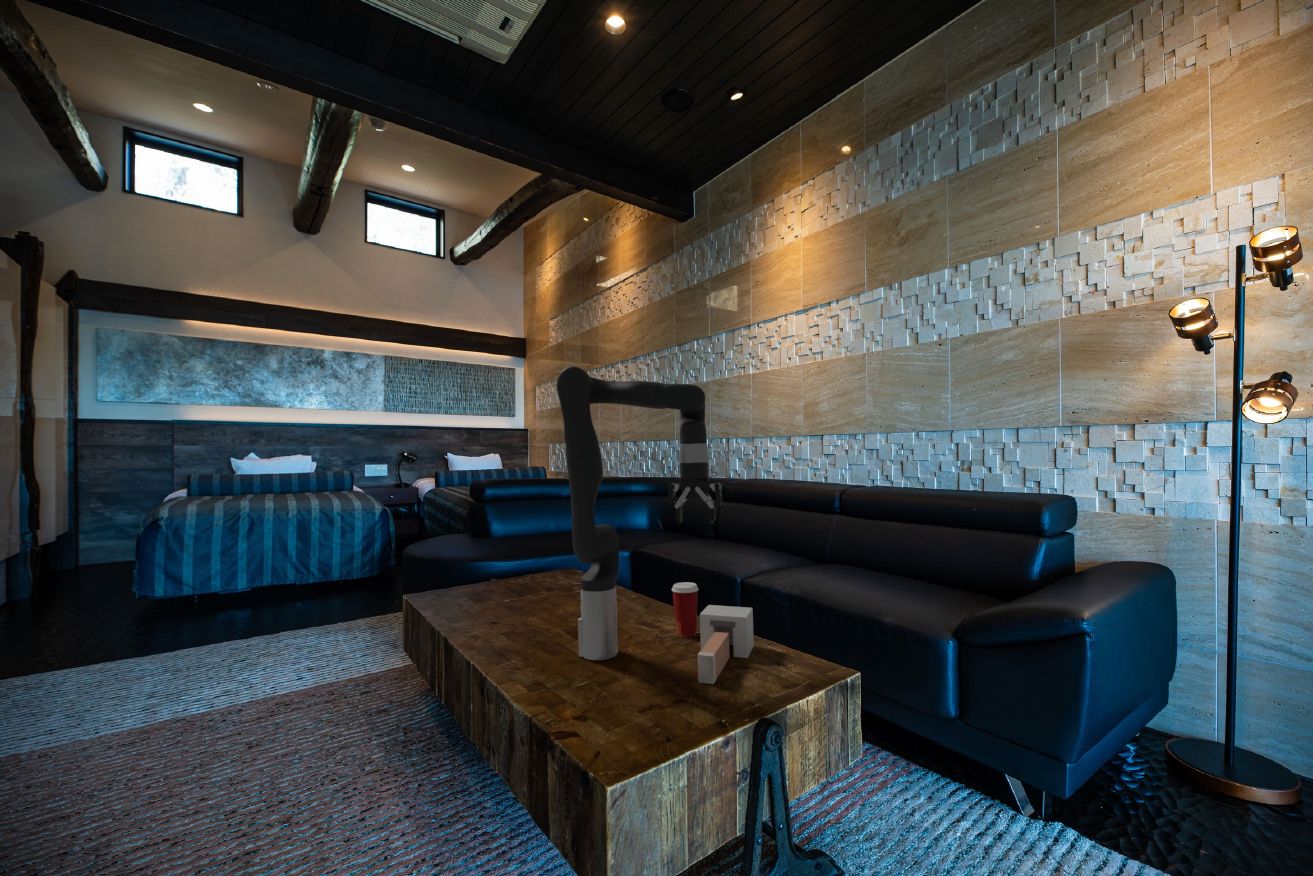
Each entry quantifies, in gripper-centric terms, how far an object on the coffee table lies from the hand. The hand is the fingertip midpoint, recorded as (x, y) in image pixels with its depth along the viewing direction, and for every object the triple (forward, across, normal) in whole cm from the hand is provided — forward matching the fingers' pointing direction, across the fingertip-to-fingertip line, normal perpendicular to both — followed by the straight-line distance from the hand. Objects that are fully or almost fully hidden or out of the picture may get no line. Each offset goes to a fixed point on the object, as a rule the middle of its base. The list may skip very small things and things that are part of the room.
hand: (695, 522), depth 143 cm
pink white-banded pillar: (+33, +7, -12) cm, 36 cm away
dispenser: (+33, +7, +2) cm, 34 cm away
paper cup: (+33, -7, +11) cm, 36 cm away
